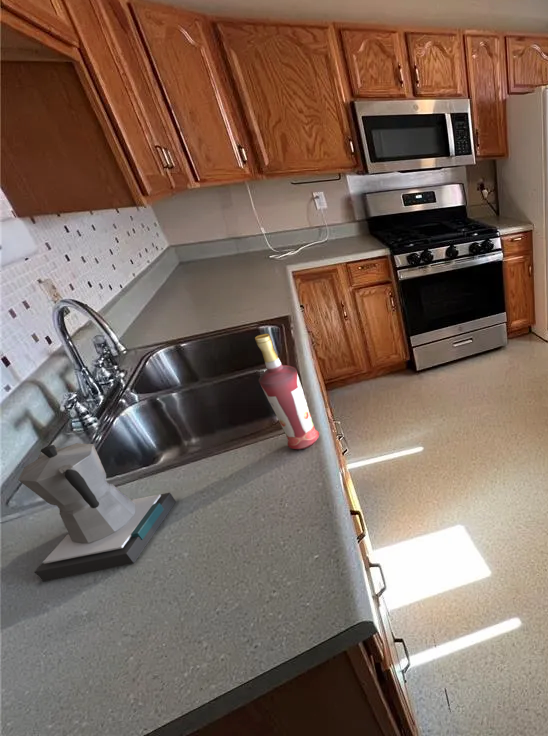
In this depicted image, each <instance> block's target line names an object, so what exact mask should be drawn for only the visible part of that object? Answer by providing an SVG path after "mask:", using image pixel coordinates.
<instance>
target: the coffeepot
mask: <svg viewBox="0 0 548 736" xmlns="http://www.w3.org/2000/svg"><path fill="white" fill-rule="evenodd" d="M95 447H96V446H95V444H94V443H82V442H81V443H78V442H77V443H73V444H70V445H68V446H64V447H56V446H55V444H50V445H47V446H45V447H43V448H42V449H41V450H40V452H41V453H40V454H39V455H38V458H37V459H36V460H34V461H32V462H31V463H30V464H27V465H26V466H24V467H23V469H22V471H21V473H20V475H19V478H18V479H17V481H19V482H20V483H21V484H23V485H24V486H25V487H26V488H28V489H29V490H30V491H32V492H33V493H35V495H37V496H38V497H40V498H41V499H42V500H44V501H45V502H46V503H48V504H49V505H52V506H56V507H57V508H58V509H59V516H60V518H61V520H62V522H63V525H64V527H65V529H66V531H67V535H68V534H69V536H70V538H71V540H72V542H78V543H91V542H95V541H98V540H100V539H103V538H105V537H107V536H109V535H111V534H113V533H114V532H116V531H118V530H119V529H120V528H122V527H123V526H124V525H125V524H127V523H128V522H129V521H130V519H131V518H132V517H133V516H134V513H135V503H134V502H133V501H131V500H132V499H130V498H129V497H128V496H127V495H125V494H124V493H123V492H122V491H121V490H119V488H117V487H116V486H115V485H114V484H112V483H109V482H108V481H107V473H106V471H105V468H104V466H103V464H102V460H101V459H100V456H99V454H98V452H97V449H96V448H95Z"/></svg>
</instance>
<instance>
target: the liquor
mask: <svg viewBox="0 0 548 736" xmlns="http://www.w3.org/2000/svg"><path fill="white" fill-rule="evenodd" d="M254 339H255V340H254V341H255V342H256V345H257V347H258V348H259V350H260V351H261V354H262V358H263V359H264V364H265V366H266V370H265V371H264V372H263V373H262V374H261V375H260V376H259V378H258V383H259V385H260V386H261V388H262V390H263V392H264V395H265V397H266V399H267V401H268V403H269V405H270V407H271V408H272V411H273V412H274V413H275V416H276V418H277V420H278V422H279V424H280V427H281V428H282V430H283V432H284V435H285V437H286V439H287V446H288V448H289V449H293V450H306V449H308V448H310V447H312V446H313V445H314V444H315V443H316V441H317V440H318V439H319V437H320V432H319V431H318V430H317V429H316V427H315V425H314V422H313V419H312V415H311V412H310V410H309V407H308V403H307V400H306V396H305V393H304V389H303V386H302V384H301V380H300V377H299V375H298V371H297V368H296V367H295V366H291V365H286V364H282V362H281V360H280V358H279V356H278V354H277V352H276V351H275V348H274V344H273V341H272V340H273V339H272V338H271V336H270V333H262V334H258V335H257V336H255V337H254Z"/></svg>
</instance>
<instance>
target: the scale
mask: <svg viewBox="0 0 548 736" xmlns="http://www.w3.org/2000/svg"><path fill="white" fill-rule="evenodd" d="M130 500H131V501H133V502H134V503H135V513H134V516H133V517H132V518H131V519H130V521H129V522H128V523H127V524H125V525H124V526H123V527H122V528H120V529H119V530H118V531H116V532H114V533H113V534H111V535H109V536H107V537H105V538H103V539H100V540H98V541H95V542H91V543H78V542H72V540H71V538H70V536H69V534H68V533H67V534H66V535H65V537H64V538H62V540H61V541H60V542H59V543H58V544H57V546H55V548H54V549H53V550H52V551H51V552H50V553H49V554H48V555H47V557H45V558H44V560H43V561H42V562H41V564H40V565H39V566H38V567H37V568H36V569H35V570H34V571H33V572H34V574H35V575H36V576H37V577H38V578H39V579H40V580H41V581H42V582H48V581H52V580H58V579H63V578H68V577H72V576H79V575H82V574H88V573H93V572H97V571H102V570H107V569H113V568H118V567H122V566H127V565H133V564H135V563H136V561H137V559H138V558H139V557H140V555H141V554H142V552H143V551H144V550H145V548H146V547H147V545H148V543H150V541H151V539H152V538H153V536H154V535H155V533H156V532H157V530H158V529H159V527H160V526H161V524H162V523H163V522H164V520H165V519H166V517H167V516H168V514H169V513H170V511H171V510H172V509H173V507H174V506H175V504H176V502H177V501H176V499H175V498H174V496H173V494H172V493H171V492H165V493H160V494H155V495H149V496H144V497H138V498H133V499H130Z"/></svg>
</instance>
